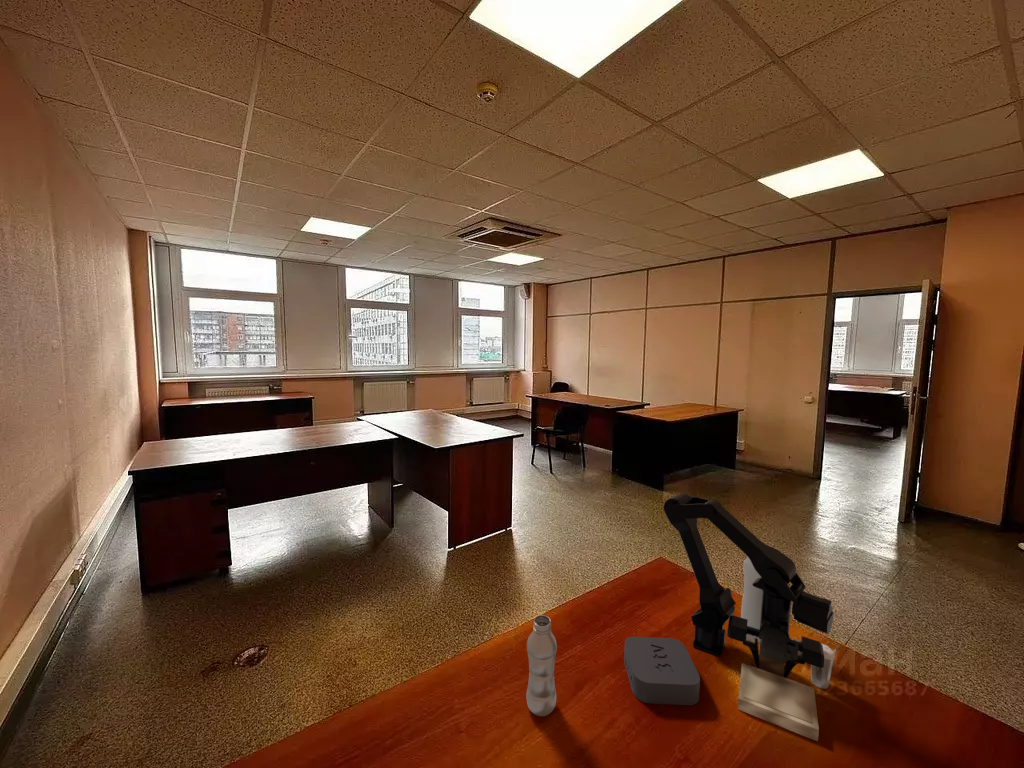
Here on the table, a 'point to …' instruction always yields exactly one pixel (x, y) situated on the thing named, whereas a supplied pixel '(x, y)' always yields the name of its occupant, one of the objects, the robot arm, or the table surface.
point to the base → (778, 701)
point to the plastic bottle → (541, 667)
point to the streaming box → (661, 671)
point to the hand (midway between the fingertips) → (770, 673)
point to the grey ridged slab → (751, 596)
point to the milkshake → (823, 669)
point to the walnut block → (770, 665)
